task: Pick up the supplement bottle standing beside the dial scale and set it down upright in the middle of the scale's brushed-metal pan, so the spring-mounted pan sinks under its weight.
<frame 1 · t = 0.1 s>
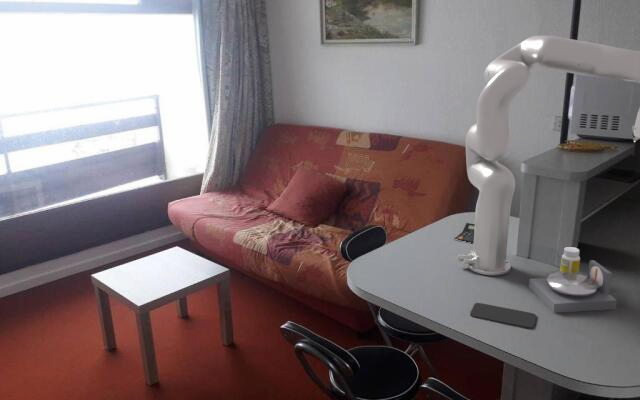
calculator: (473, 238, 182), on the table
scale pan: (571, 283, 138), point 4 cm above the table, slide at 0.5 cm
supplement bottle: (568, 277, 151), on the table
scale: (569, 297, 140), on the table
phone: (502, 317, 132), on the table
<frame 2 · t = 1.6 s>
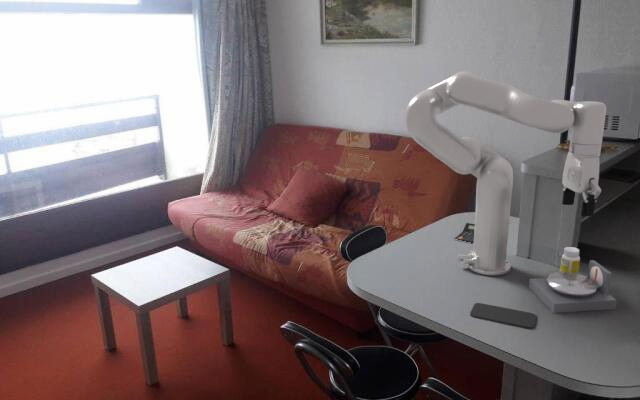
hand: (577, 210, 145), 20 cm above the table, tool pointing down, fingers open, 9 cm apart
nothing on the table moved.
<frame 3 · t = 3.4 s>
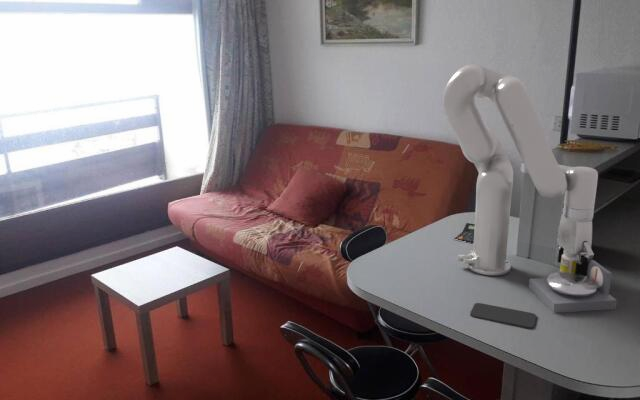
hand: (571, 268, 150), 2 cm above the table, tool pointing down, fingers open, 9 cm apart
nothing on the table moved.
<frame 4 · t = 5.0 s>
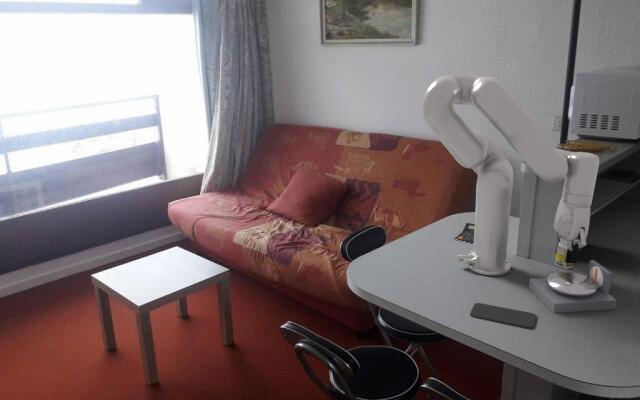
hand: (565, 258, 150), 6 cm above the table, tool pointing down, fingers closed on supplement bottle, 4 cm apart
supplement bottle: (563, 265, 151), point 3 cm above the table, touching gripper
everything else where it was.
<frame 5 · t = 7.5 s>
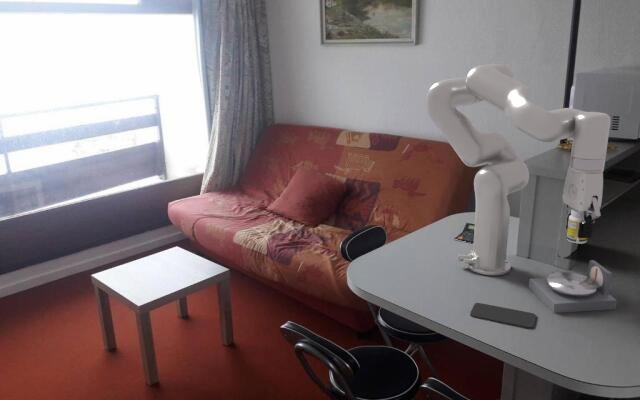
hand: (578, 232, 134), 18 cm above the table, tool pointing down, fingers closed on supplement bottle, 4 cm apart
supplement bottle: (576, 241, 135), point 16 cm above the table, touching gripper
everything else where it was.
when the fingers open (7 cm above the table, at t = 10.1 s): supplement bottle drops 1 cm, resting on scale pan.
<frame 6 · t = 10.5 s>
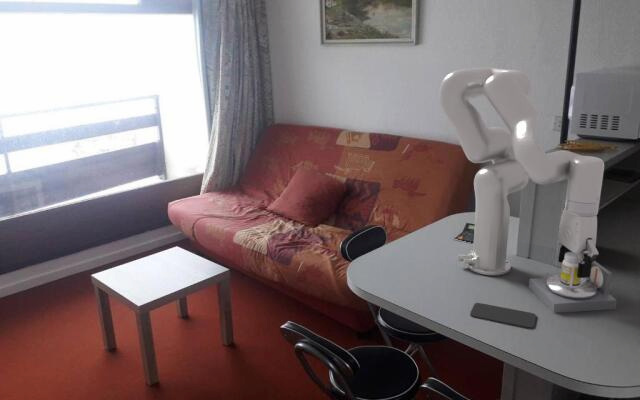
hand: (573, 269, 137), 8 cm above the table, tool pointing down, fingers open, 8 cm apart
scale pan: (571, 286, 139), point 3 cm above the table, slide at 1.2 cm, touching supplement bottle
supplement bottle: (569, 285, 139), point 4 cm above the table, touching scale pan
everything else where it was.
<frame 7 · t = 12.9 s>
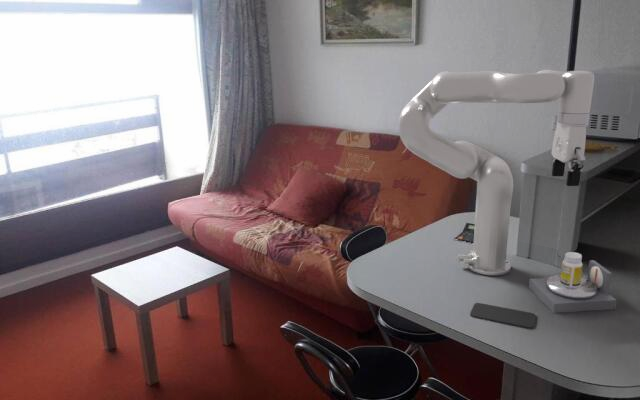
hand: (564, 180, 146), 28 cm above the table, tool pointing down, fingers open, 9 cm apart
nothing on the table moved.
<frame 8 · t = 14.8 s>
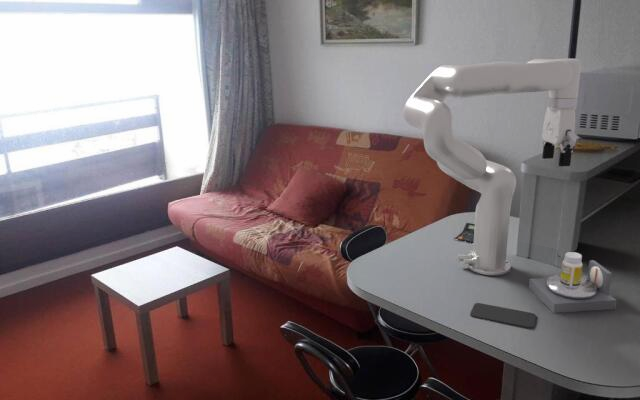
hand: (555, 162, 156), 30 cm above the table, tool pointing down, fingers open, 9 cm apart
nothing on the table moved.
at the end: supplement bottle inside the target area on the scale (0.4 cm from its centre), point 3.6 cm above the scale's base; supplement bottle tilted 0°; the gripper is holding nothing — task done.
